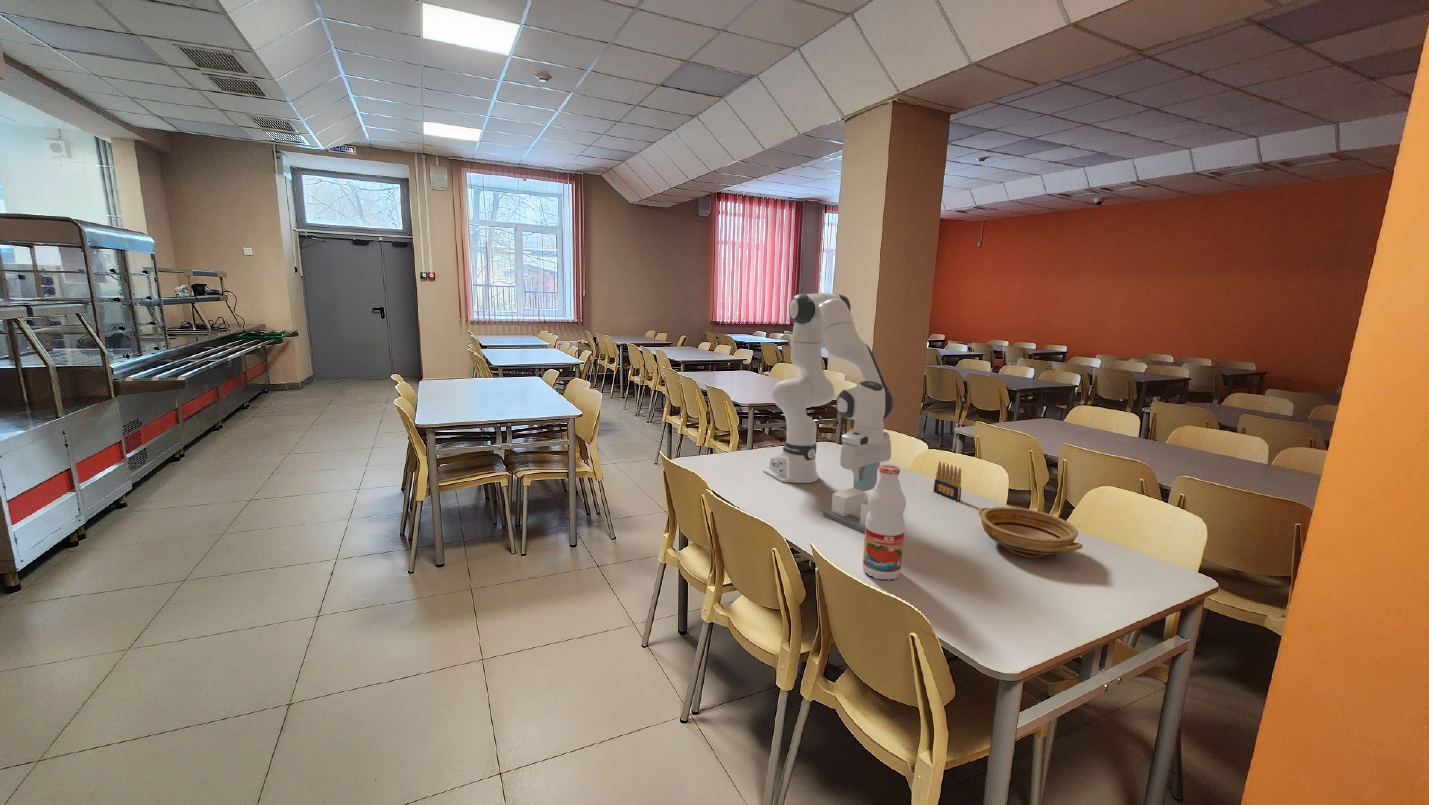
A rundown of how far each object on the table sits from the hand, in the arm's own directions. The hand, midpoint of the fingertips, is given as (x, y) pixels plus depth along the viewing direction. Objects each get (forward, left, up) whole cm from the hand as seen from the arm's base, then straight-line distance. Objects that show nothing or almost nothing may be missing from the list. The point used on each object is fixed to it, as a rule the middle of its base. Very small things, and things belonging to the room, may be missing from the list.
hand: (865, 478), depth 175 cm
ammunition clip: (+2, +44, -14) cm, 46 cm away
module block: (0, 0, -3) cm, 3 cm away
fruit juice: (+25, -23, -14) cm, 37 cm away
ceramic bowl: (+39, +23, -14) cm, 47 cm away
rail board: (0, 0, -14) cm, 14 cm away
